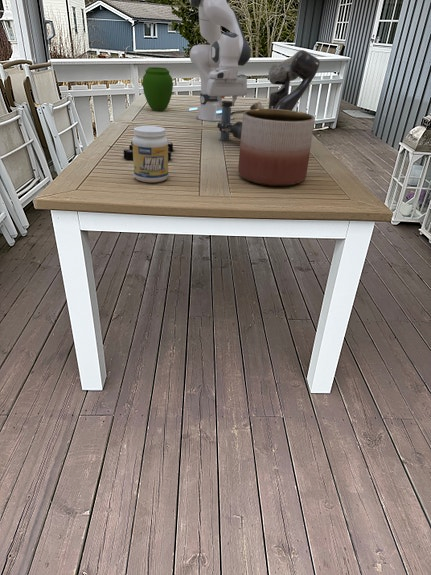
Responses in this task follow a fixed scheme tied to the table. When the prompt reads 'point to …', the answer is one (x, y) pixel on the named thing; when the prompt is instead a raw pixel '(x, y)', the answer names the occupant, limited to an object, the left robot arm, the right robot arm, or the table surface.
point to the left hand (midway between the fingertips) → (226, 106)
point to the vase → (157, 88)
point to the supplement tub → (150, 154)
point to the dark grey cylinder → (225, 122)
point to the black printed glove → (129, 153)
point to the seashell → (257, 106)
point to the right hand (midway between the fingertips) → (222, 124)
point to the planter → (275, 146)
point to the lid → (227, 103)
